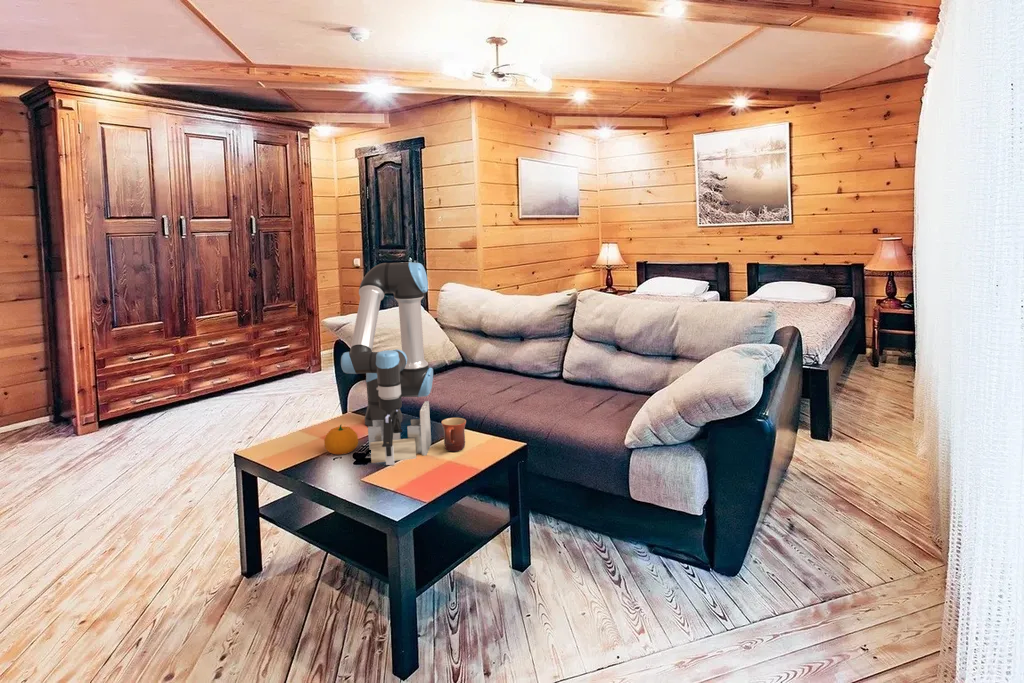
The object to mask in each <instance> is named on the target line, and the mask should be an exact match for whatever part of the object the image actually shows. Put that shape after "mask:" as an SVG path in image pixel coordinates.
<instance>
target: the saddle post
mask: <svg viewBox="0 0 1024 683" xmlns="http://www.w3.org/2000/svg"><path fill="white" fill-rule="evenodd" d="M383 428H384V422H383V420H373V426H371V427H370V426H367V434H368V448H369V450H371V449H370V442H378V441H383ZM369 450H368V451H369Z"/></svg>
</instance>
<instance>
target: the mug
mask: <svg viewBox="0 0 1024 683" xmlns="http://www.w3.org/2000/svg"><path fill="white" fill-rule="evenodd" d="M466 424H467V420H466V419H465V418H463V417H448V418H444V419H442V420H441V426H442V428H443V429H442V430H443V444H444V449H445V450H446V451H448V452H450V453H455V452H456V453H458V452H460V451H463V450H464V449H465V447H466V436H465V430H466V428H465V427H466Z"/></svg>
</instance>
